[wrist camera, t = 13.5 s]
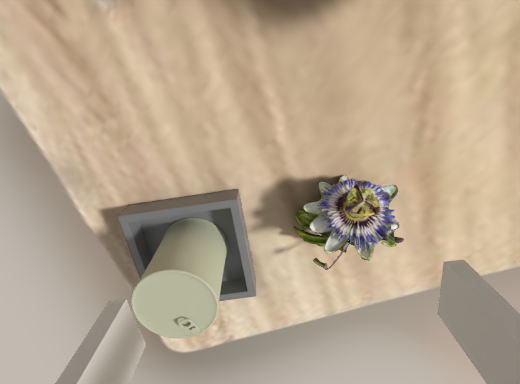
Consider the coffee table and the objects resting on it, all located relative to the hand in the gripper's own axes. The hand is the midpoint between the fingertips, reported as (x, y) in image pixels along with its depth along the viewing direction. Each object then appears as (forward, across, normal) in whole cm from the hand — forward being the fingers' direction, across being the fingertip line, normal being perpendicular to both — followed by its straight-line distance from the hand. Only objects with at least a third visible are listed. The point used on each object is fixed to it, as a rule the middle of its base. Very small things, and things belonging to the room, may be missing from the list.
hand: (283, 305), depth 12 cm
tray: (+26, -12, -12) cm, 31 cm away
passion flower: (+27, +8, -10) cm, 30 cm away
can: (+25, -12, -12) cm, 31 cm away
